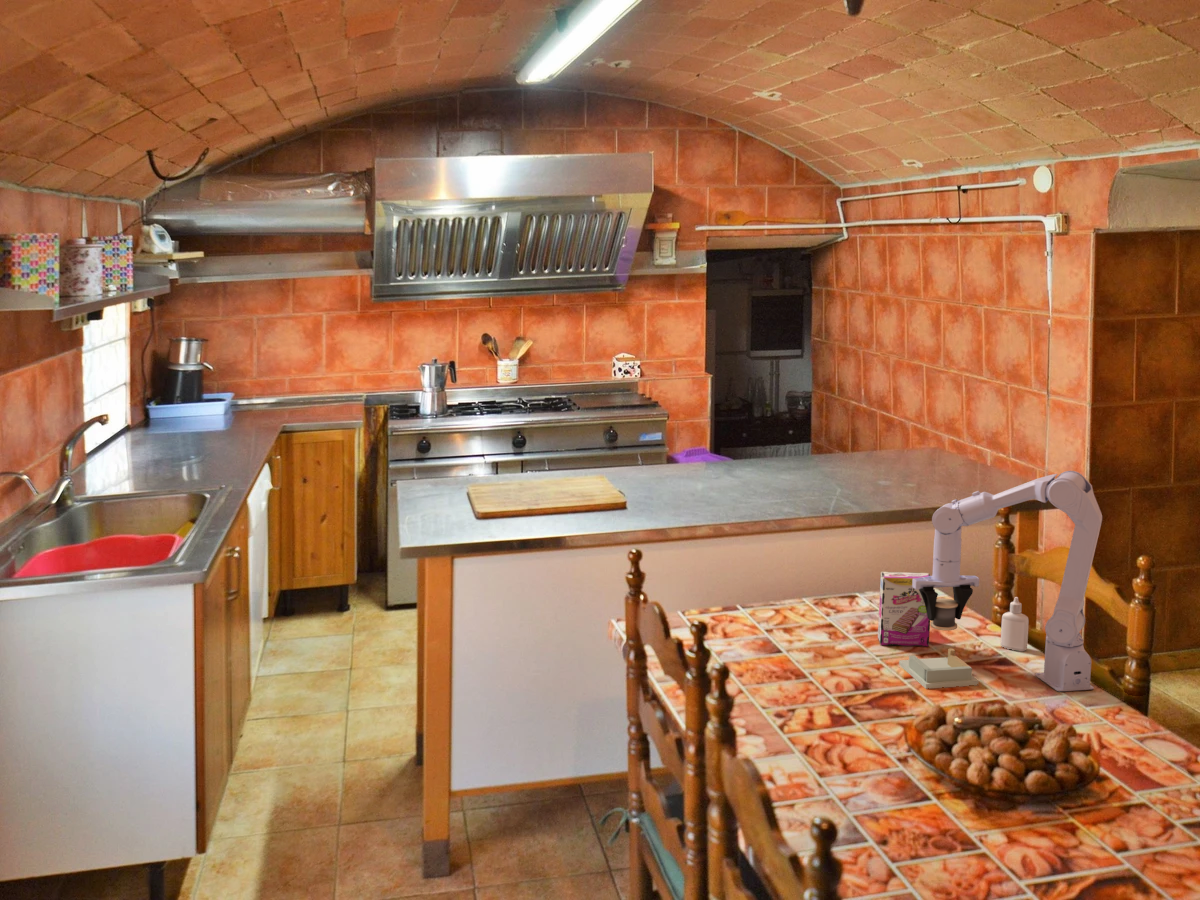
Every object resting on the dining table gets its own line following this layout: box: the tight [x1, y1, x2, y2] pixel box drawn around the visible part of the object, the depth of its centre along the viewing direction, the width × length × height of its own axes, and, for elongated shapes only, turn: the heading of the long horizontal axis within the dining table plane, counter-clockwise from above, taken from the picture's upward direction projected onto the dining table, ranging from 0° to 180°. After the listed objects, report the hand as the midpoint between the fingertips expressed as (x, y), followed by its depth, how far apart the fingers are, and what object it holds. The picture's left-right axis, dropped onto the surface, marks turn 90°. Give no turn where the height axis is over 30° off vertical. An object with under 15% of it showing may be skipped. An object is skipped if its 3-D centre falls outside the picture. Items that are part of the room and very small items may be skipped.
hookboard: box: [898, 648, 980, 690], centre depth 240 cm, size 14×12×4 cm
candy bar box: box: [877, 571, 931, 647], centre depth 259 cm, size 11×5×16 cm, turn 84°
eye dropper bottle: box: [999, 596, 1029, 652], centre depth 255 cm, size 4×6×12 cm
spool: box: [930, 597, 958, 631], centre depth 248 cm, size 6×6×6 cm
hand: (944, 618), depth 248 cm, fingers closed on spool, 5 cm apart
